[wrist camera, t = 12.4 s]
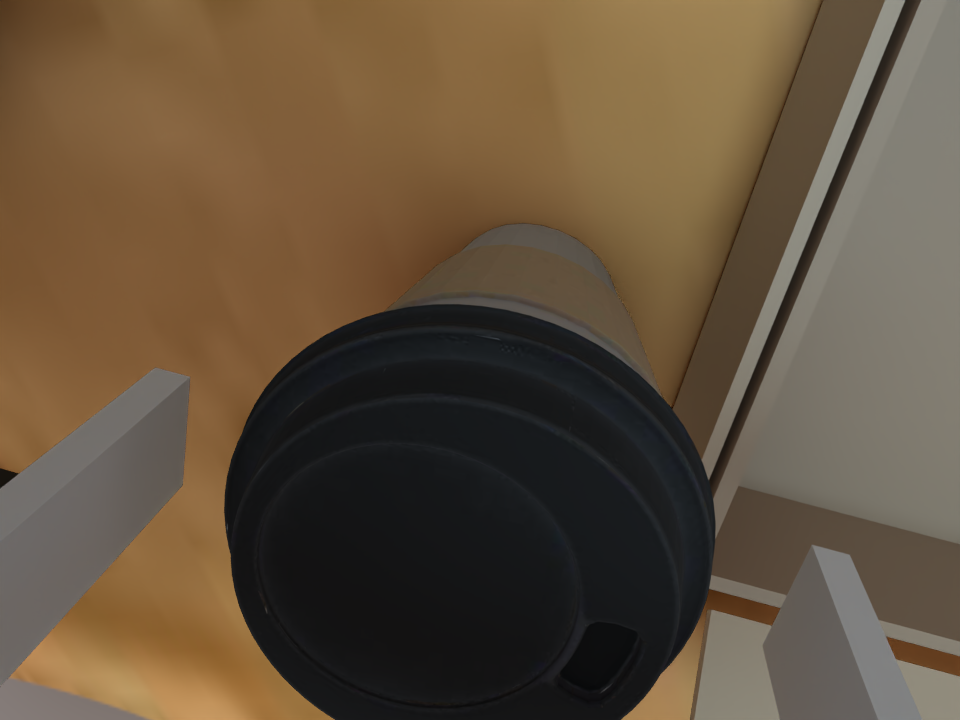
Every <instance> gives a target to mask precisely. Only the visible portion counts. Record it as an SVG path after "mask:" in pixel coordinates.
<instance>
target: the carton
mask: <svg viewBox="0 0 960 720" xmlns="http://www.w3.org/2000/svg"><path fill="white" fill-rule="evenodd" d="M673 411H674V413H675V414H676V415H677V417H678V418H679V420H680V421H681V422H682V424H683V425H684V427H685V429H686V430H687V432H688V434H689V436H690V437H691V439H692V441H693V442H694V444H695V447H696V449H697V451H698V453H699V455H700V458H701V460H702V462H703V465H704V468H705V471H706V474H707V477H708V480H709V483H710V488H711V492H712V497H713V501H714V511H715V520H716V531H715V548H714V557H713V565H712V573H711V581H710V586H709V589H711V590H715V591H719V592H723V593H726V594H730V595H734V596H738V597H741V598H745V599H749V600H752V601H756V602H760V603H764V604H767V605H771V606H775V607H778V608H781V607H782V605H783V602H784V600H785V598H786V596H787V594H788V592H789V590H790V588H791V586H792V584H793V582H794V580H795V578H796V576H797V574H798V572H799V570H800V568H801V566H802V564H803V562H804V560H805V558H806V556H807V554H808V552H809V550H810V548H811V546H812V545H815V546H819V547H823V548H826V549H830V550H834V551H837V552H841V553H845V554H848V555H850V557H851V559H852V561H853V563H854V566H855V568H856V570H857V572H858V575H859V577H860V579H861V582H862V584H863V586H864V588H865V591H866V593H867V595H868V597H869V600H870V602H871V604H872V607H873V609H874V611H875V613H876V616H877V618H878V620H879V622H880V625H881V627H882V629H883V631H884V634H885V636H886V637H890V638H894V639H898V640H901V641H905V642H909V643H912V644H916V645H920V646H924V647H927V648H931V649H935V650H938V651H942V652H946V653H950V654H953V655H957V656H960V0H823V3H822V5H821V8H820V11H819V14H818V16H817V19H816V22H815V24H814V27H813V30H812V33H811V35H810V38H809V41H808V43H807V46H806V49H805V52H804V54H803V57H802V60H801V63H800V65H799V68H798V71H797V73H796V76H795V79H794V82H793V84H792V87H791V90H790V92H789V95H788V98H787V101H786V103H785V106H784V109H783V111H782V114H781V117H780V120H779V122H778V125H777V128H776V130H775V133H774V136H773V139H772V141H771V144H770V147H769V149H768V152H767V155H766V158H765V160H764V163H763V166H762V168H761V171H760V174H759V177H758V179H757V182H756V185H755V187H754V190H753V193H752V196H751V198H750V201H749V204H748V206H747V209H746V212H745V215H744V217H743V220H742V223H741V225H740V228H739V231H738V234H737V236H736V239H735V242H734V244H733V247H732V250H731V253H730V255H729V258H728V261H727V263H726V266H725V269H724V272H723V274H722V277H721V280H720V282H719V285H718V288H717V291H716V293H715V296H714V299H713V301H712V304H711V307H710V310H709V312H708V315H707V318H706V320H705V323H704V326H703V329H702V331H701V334H700V337H699V339H698V342H697V345H696V348H695V350H694V353H693V356H692V358H691V361H690V364H689V367H688V369H687V372H686V375H685V377H684V380H683V383H682V386H681V388H680V391H679V394H678V396H677V399H676V402H675V405H674V407H673Z"/></svg>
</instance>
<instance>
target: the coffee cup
mask: <svg viewBox="0 0 960 720" xmlns="http://www.w3.org/2000/svg"><path fill="white" fill-rule="evenodd" d="M224 513H225V526H226V534H227V540H228V545H229V550H230V553H231V568H232V577H233V583H234V588H235V593H236V596H237V600H238V603H239V606H240V609H241V612H242V614H243V617H244V619H245V622H246V624H247V626H248V628H249V630H250V632H251V634H252V636H253V637H254V639H255V641H256V642H257V644H258V646H259V647H260V649H261V650H262V652H263V653H264V654H265V656H266V657H267V659H268V660H269V661H270V663H271V664H272V665H273V666H274V668H275V669H276V670H277V671H278V672H279V673H280V675H281V676H282V677H283V678H284V679H285V680H286V681H287V682H288V683H289V684H290V685H291V686H292V687H293V688H294V689H295V690H296V691H298V692H299V693H300V694H301V695H302V696H303V697H304V698H306V699H307V700H308V701H309V702H311V703H312V704H313V705H314V706H316V707H317V708H318V709H320V710H321V711H323V712H324V713H326V714H327V715H329V716H330V717H332V718H333V719H335V720H621V719H622V718H623V717H624V716H626V715H627V714H628V713H629V712H630V711H632V710H633V709H634V708H635V707H636V706H637V705H638V704H639V702H640V701H641V700H642V699H643V698H644V697H645V696H646V694H647V693H648V692H649V691H650V689H651V688H652V687H653V685H654V684H655V682H656V681H657V679H658V678H659V676H660V674H661V673H662V672H663V671H664V670H665V669H666V668H667V667H668V666H669V665H670V664H671V663H672V661H673V660H674V659H675V658H676V656H677V655H678V654H679V653H680V651H681V650H682V649H683V647H684V646H685V644H686V642H687V641H688V639H689V638H690V636H691V634H692V633H693V631H694V629H695V627H696V625H697V623H698V620H699V618H700V616H701V613H702V610H703V608H704V605H705V602H706V599H707V595H708V590H709V586H710V581H711V573H712V565H713V557H714V548H715V531H716V520H715V511H714V501H713V497H712V492H711V488H710V483H709V480H708V477H707V474H706V471H705V468H704V465H703V462H702V460H701V458H700V455H699V453H698V451H697V449H696V447H695V444H694V442H693V441H692V439H691V437H690V436H689V434H688V432H687V430H686V429H685V427H684V425H683V424H682V422H681V421H680V420H679V418H678V417H677V415H676V414H675V413H674V411H673V410H672V408H671V407H670V406H669V405H668V404H667V403H666V401H665V400H664V399H663V398H662V395H661V393H660V390H659V387H658V385H657V382H656V380H655V377H654V374H653V372H652V369H651V367H650V364H649V362H648V359H647V356H646V354H645V351H644V349H643V346H642V343H641V341H640V338H639V336H638V333H637V331H636V328H635V325H634V323H633V320H632V318H631V317H630V315H629V313H628V312H627V310H626V308H625V307H624V305H623V303H622V301H621V300H620V299H619V298H618V296H617V293H616V291H615V288H614V286H613V283H612V280H611V278H610V275H609V274H608V272H607V270H606V269H605V267H604V265H603V263H602V262H601V260H600V259H599V258H598V257H597V256H596V255H595V254H594V253H593V252H592V251H591V250H590V249H589V248H588V247H586V246H585V245H584V244H582V243H581V242H579V241H578V240H577V239H575V238H573V237H571V236H569V235H567V234H565V233H563V232H561V231H559V230H555V229H552V228H549V227H545V226H542V225H533V224H525V223H523V224H509V225H504V226H501V227H497V228H494V229H491V230H489V231H487V232H486V233H484V234H482V235H480V236H479V237H477V238H475V239H474V240H473V241H472V242H471V243H470V244H469V245H468V246H466V247H465V248H464V249H463V250H462V251H461V252H459V253H457V254H455V255H454V256H452V257H450V258H448V259H447V260H445V261H443V262H442V263H440V264H438V265H437V266H436V267H435V268H433V269H432V270H431V271H430V272H429V273H428V274H427V275H425V276H424V277H423V278H422V279H421V280H420V281H419V282H417V283H416V284H415V285H414V286H413V287H412V288H411V289H409V290H408V291H407V292H406V293H405V294H404V295H403V296H401V297H400V298H399V299H398V300H397V301H396V302H394V303H393V304H392V305H391V306H390V307H389V308H388V309H386V310H385V311H384V312H382V313H378V314H375V315H372V316H368V317H365V318H362V319H360V320H357V321H354V322H352V323H349V324H347V325H344V326H342V327H340V328H338V329H336V330H334V331H333V332H331V333H329V334H327V335H325V336H323V337H322V338H320V339H319V340H317V341H315V342H314V343H312V344H311V345H309V346H308V347H306V348H305V349H304V350H303V351H301V352H300V353H299V354H298V355H296V356H295V357H294V358H293V359H291V360H290V361H289V362H288V363H287V364H286V365H285V366H284V367H283V368H282V369H281V370H280V371H279V372H278V373H277V374H276V376H275V377H274V378H273V379H272V381H271V382H270V383H269V384H268V385H267V387H266V388H265V389H264V391H263V392H262V394H261V395H260V397H259V399H258V400H257V402H256V403H255V405H254V407H253V409H252V411H251V413H250V415H249V417H248V419H247V421H246V424H245V427H244V429H243V432H242V435H241V437H240V439H239V441H238V443H237V445H236V448H235V451H234V454H233V456H232V459H231V463H230V467H229V471H228V475H227V482H226V489H225V507H224Z"/></svg>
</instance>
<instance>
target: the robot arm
mask: <svg viewBox="0 0 960 720" xmlns="http://www.w3.org/2000/svg"><path fill="white" fill-rule="evenodd" d="M189 388H190V377H189V376H185V375H182V374H178V373H174V372H170V371H167V370H163V369H159V368H156V367H155V368H154V369H153V370H151V371H150V372H149V373H148V374H146V375H145V376H144V377H143V378H141V379H140V380H139V381H137V382H136V383H135V384H134V385H132V386H131V387H130V388H128V389H127V390H126V391H125V392H123V393H122V394H121V395H119V396H118V397H117V398H116V399H114V400H113V401H112V402H110V403H109V404H108V405H107V406H105V407H104V408H103V409H102V410H100V411H99V412H98V413H96V414H95V415H94V416H93V417H91V418H90V419H89V420H87V421H86V422H85V423H84V424H82V425H81V426H80V427H78V428H77V429H76V430H75V431H73V432H72V433H71V434H69V435H68V436H67V437H66V438H64V439H63V440H62V441H61V442H59V443H58V444H57V445H55V446H54V447H53V448H52V449H50V450H49V451H48V452H46V453H45V454H44V455H43V456H41V457H40V458H39V459H37V460H36V461H35V462H34V463H32V464H31V465H30V466H28V467H27V468H26V469H25V470H23V471H22V472H21V473H20V474H18V473H15V472H11V471H8V470H4V469H0V687H1V685H2V684H3V683H4V682H5V681H6V680H7V679H8V678H9V677H10V676H11V674H12V673H13V672H14V671H15V670H16V669H17V668H18V667H19V666H20V664H21V663H22V662H23V661H24V660H25V659H26V658H27V657H28V656H29V655H30V653H31V652H32V651H33V650H34V649H35V648H36V647H37V646H38V645H39V643H40V642H41V641H42V640H43V639H44V638H45V637H46V636H47V635H48V634H49V632H50V631H51V630H52V629H53V628H54V627H55V626H56V625H57V624H58V622H59V621H60V620H61V619H62V618H63V617H64V616H65V615H66V614H67V613H68V611H69V610H70V609H71V608H72V607H73V606H74V605H75V604H76V603H77V601H78V600H79V599H80V598H81V597H82V596H83V595H84V594H85V593H86V592H87V590H88V589H89V588H90V587H91V586H92V585H93V584H94V583H95V582H96V580H97V579H98V578H99V577H100V576H101V575H102V574H103V573H104V572H105V571H106V569H107V568H108V567H109V566H110V565H111V564H112V563H113V562H114V561H115V559H116V558H117V557H118V556H119V555H120V554H121V553H122V552H123V551H124V550H125V548H126V547H127V546H128V545H129V544H130V543H131V542H132V541H133V540H134V538H135V537H136V536H137V535H138V534H139V533H140V532H141V531H142V530H143V529H144V527H145V526H146V525H147V524H148V523H149V522H150V521H151V520H152V519H153V517H154V516H155V515H156V514H157V513H158V512H159V511H160V510H161V509H162V508H163V506H164V505H165V504H166V503H167V502H168V501H169V500H170V499H171V498H172V496H173V495H174V494H175V493H176V492H177V491H178V490H179V489H180V488H181V487H182V485H183V474H184V460H185V445H186V431H187V416H188V402H189ZM762 646H763V650H764V655H765V659H766V663H767V667H768V671H769V676H770V680H771V684H772V688H773V692H774V696H775V701H776V705H777V709H778V713H779V717H780V720H922V718H921V716H920V713H919V711H918V709H917V706H916V704H915V702H914V700H913V697H912V695H911V693H910V691H909V688H908V686H907V684H906V681H905V679H904V677H903V675H902V672H901V670H900V668H899V666H898V663H897V661H896V659H895V656H894V654H893V652H892V650H891V647H890V645H889V643H888V641H887V638H886V636H885V634H884V631H883V629H882V627H881V625H880V622H879V620H878V618H877V616H876V613H875V611H874V609H873V607H872V604H871V602H870V600H869V597H868V595H867V593H866V591H865V588H864V586H863V584H862V582H861V579H860V577H859V575H858V572H857V570H856V568H855V566H854V563H853V561H852V559H851V557H850V555H848V554H845V553H841V552H837V551H834V550H830V549H826V548H823V547H819V546H815V545H812V546H811V548H810V550H809V552H808V554H807V556H806V558H805V560H804V562H803V564H802V566H801V568H800V570H799V572H798V574H797V576H796V578H795V580H794V582H793V584H792V586H791V588H790V590H789V592H788V594H787V596H786V598H785V600H784V602H783V605H782V607H781V609H780V611H779V613H778V615H777V617H776V619H775V621H774V623H773V625H772V627H771V629H770V631H769V633H768V635H767V637H766V639H765V641H764V643H763V645H762Z"/></svg>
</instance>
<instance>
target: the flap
mask: <svg viewBox="0 0 960 720" xmlns="http://www.w3.org/2000/svg"><path fill="white" fill-rule="evenodd" d="M771 627H772V626H771V625H767V624H763V623H760V622H756V621H752V620H748V619H745V618H741V617H737V616H734V615H730V614H726V613H722V612H719V611H715V610H707V614H706V621H705V627H704V633H703V640H702V646H701V652H700V659H699V665H698V671H697V677H696V684H695V690H694V696H693V703H692V709H691V715H690V720H780V717H779V713H778V709H777V705H776V701H775V696H774V692H773V688H772V684H771V680H770V676H769V671H768V667H767V663H766V659H765V655H764V650H763V646H762V645H763V643H764V641H765V639H766V637H767V635H768V633H769V631H770V629H771ZM896 661H897V663H898V666H899V668H900V670H901V672H902V675H903V677H904V679H905V681H906V684H907V686H908V688H909V691H910V693H911V695H912V697H913V700H914V702H915V704H916V706H917V709H918V711H919V713H920V716H921V718H922V720H960V676H956V675H952V674H949V673H945V672H941V671H937V670H934V669H930V668H926V667H923V666H919V665H915V664H912V663H908V662H904V661H900V660H897V659H896Z"/></svg>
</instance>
